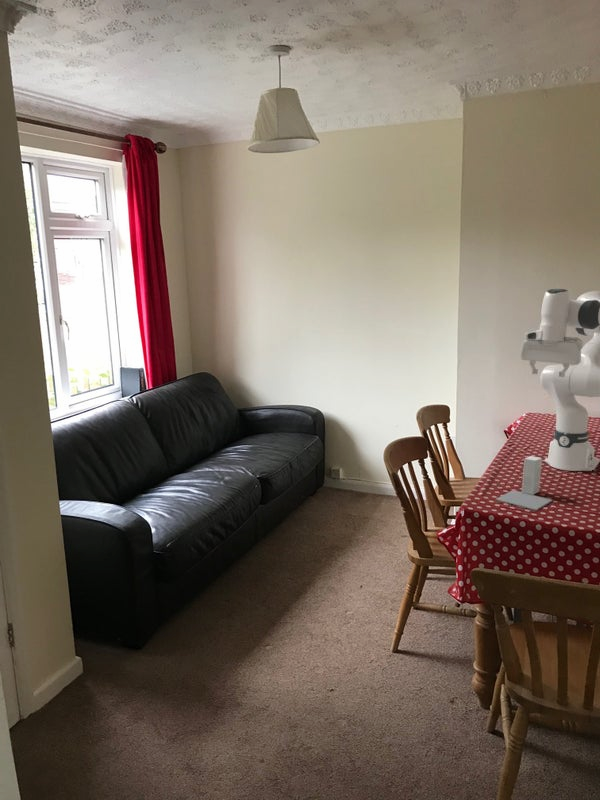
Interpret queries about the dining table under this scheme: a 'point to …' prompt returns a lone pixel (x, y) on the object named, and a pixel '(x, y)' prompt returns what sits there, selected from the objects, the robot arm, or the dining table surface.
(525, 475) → the skincare box
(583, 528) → the dining table surface
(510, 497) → the mat
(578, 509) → the dining table surface
